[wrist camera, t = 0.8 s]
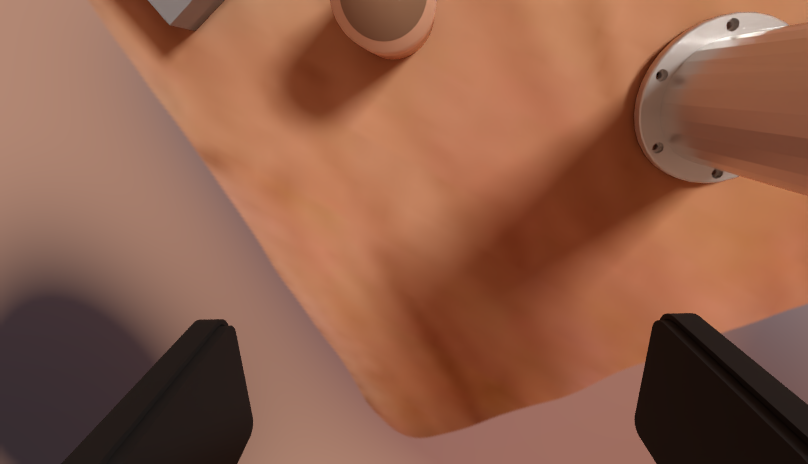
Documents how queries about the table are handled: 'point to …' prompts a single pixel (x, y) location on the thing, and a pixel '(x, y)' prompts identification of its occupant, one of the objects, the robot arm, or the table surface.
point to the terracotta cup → (386, 24)
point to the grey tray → (185, 11)
